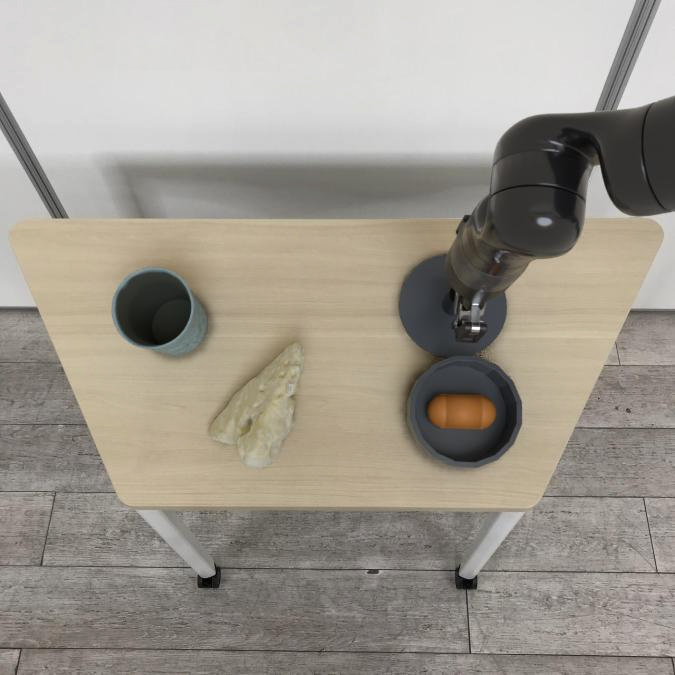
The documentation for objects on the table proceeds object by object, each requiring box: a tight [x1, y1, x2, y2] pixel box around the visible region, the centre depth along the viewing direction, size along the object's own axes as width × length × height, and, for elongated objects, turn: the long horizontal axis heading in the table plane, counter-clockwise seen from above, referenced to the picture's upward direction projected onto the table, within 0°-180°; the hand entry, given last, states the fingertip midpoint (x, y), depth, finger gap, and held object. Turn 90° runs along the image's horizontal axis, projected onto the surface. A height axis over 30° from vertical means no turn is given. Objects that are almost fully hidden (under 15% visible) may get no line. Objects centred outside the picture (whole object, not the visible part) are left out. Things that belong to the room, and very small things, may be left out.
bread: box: [427, 394, 496, 430], centre depth 80 cm, size 9×4×4 cm, turn 88°
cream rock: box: [207, 341, 306, 469], centre depth 80 cm, size 15×7×15 cm
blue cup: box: [110, 266, 209, 356], centre depth 80 cm, size 10×10×12 cm
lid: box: [398, 253, 508, 359], centre depth 82 cm, size 15×15×7 cm
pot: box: [405, 355, 523, 469], centre depth 80 cm, size 14×14×6 cm
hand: (459, 294), depth 78 cm, fingers open, 8 cm apart
